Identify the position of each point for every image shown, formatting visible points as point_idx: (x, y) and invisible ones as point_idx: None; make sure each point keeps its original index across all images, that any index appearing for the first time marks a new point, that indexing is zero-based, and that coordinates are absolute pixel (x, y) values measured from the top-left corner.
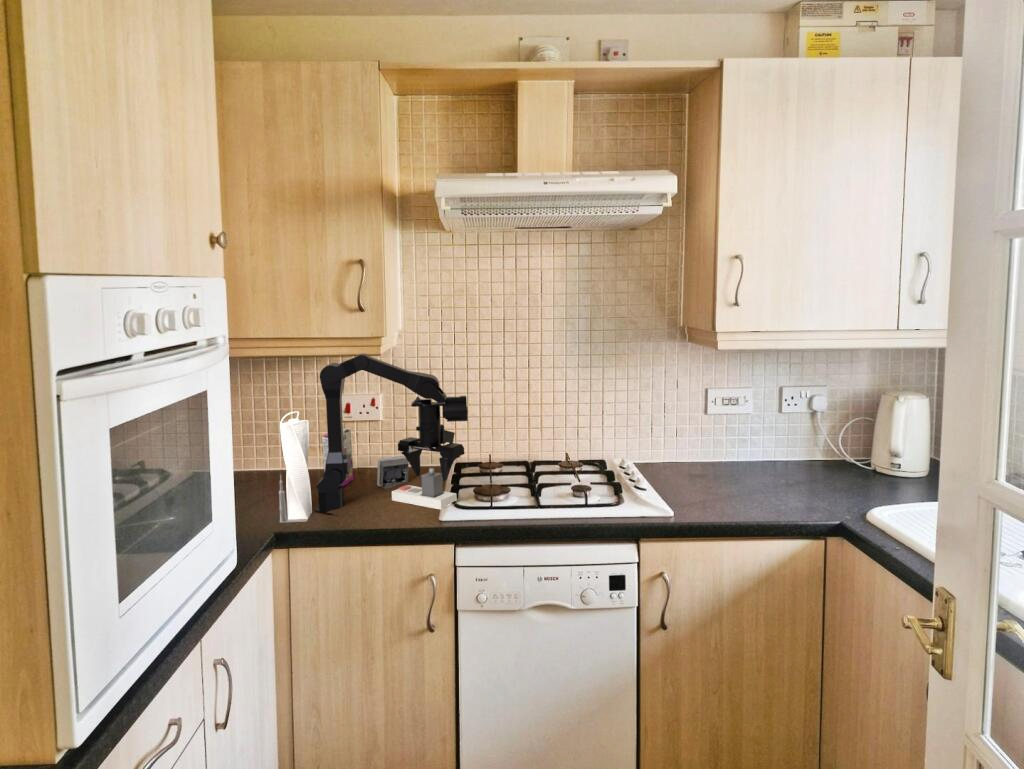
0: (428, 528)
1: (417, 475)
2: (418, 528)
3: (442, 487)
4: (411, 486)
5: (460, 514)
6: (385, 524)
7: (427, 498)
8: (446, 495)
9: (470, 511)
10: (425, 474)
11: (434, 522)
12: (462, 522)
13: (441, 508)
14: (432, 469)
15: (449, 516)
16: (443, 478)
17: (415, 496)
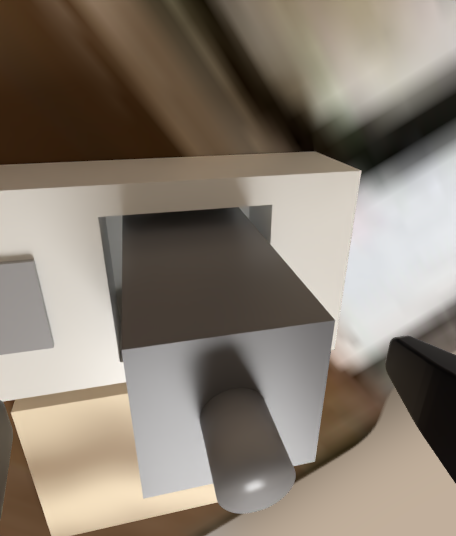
0: (350, 447)
1: (9, 446)
2: (315, 468)
3: (268, 244)
4: None
5: (400, 260)
6: (166, 520)
7: None
8: (314, 255)
9: (432, 192)
10: (164, 459)
11: (337, 399)
12: (449, 333)
13: None
14: (287, 490)
15: (362, 312)
16: (411, 398)
17: (109, 381)
